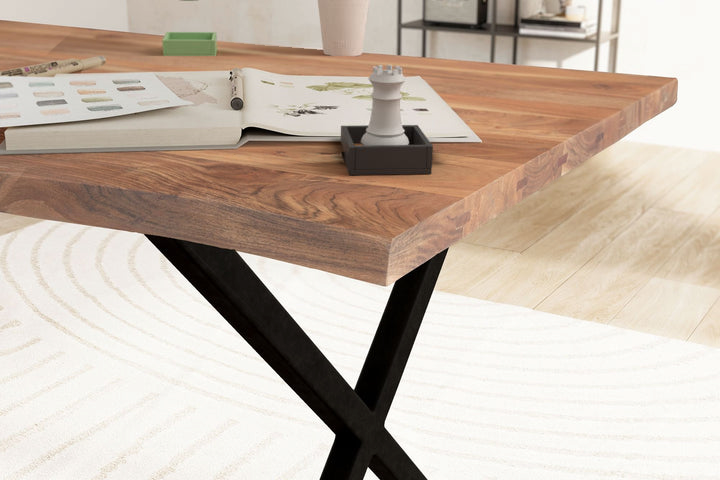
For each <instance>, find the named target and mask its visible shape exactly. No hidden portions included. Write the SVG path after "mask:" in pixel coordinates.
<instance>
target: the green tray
mask: <svg viewBox="0 0 720 480" xmlns="http://www.w3.org/2000/svg"><path fill="white" fill-rule="evenodd" d="M217 36H218V35H217V32H216V31H166V32H165V34H164V36H163V39H162V40H161V41H162V55H163V57H216V56H217V52H218V41H217V40H218V39H217Z"/></svg>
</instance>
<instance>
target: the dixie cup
mask: <svg viewBox="0 0 720 480" xmlns="http://www.w3.org/2000/svg"><path fill="white" fill-rule="evenodd" d="M317 6H318V15H319V24H320V32H321V33H320V34H321V43H322V52H323V54H324V55H327V56H331V57H358V56H361V55H362V54H363V48H364V42H365V41H364V40H365V33H366V27H367V22H368V21H367V20H368V13H369V7H370V0H317Z"/></svg>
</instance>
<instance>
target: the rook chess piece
mask: <svg viewBox="0 0 720 480" xmlns="http://www.w3.org/2000/svg"><path fill="white" fill-rule="evenodd" d="M367 80H368V81H369V82H370V84H371V85H372V93H371V94H370V98H371V99H372V102H371V104H372V105H371V107H372V108H371V112H370V120H369V124H368V125H369V126H368V127H367V129H366V133H365V134H364V135H363V137H362V139H361V143H360V144H362V146H370V145H410V142H409V140H408V138H407V136H406V135H405V134H404V131H405V130H404V129H403V127H402V125H403V124H402V115H401V99H402V98H403V95H402V94H401V87H402V86H403V84H404V83H405V82H406V80H407V78H406V77H405V75H404V74H403V67H401V66H400V65H395V66H394V69H393V64H386V69H383V65H382V64H379V65H377V64H376V65H375V66H374V65H373V66H372V73H371V74H370V75H369V77H368V78H367Z"/></svg>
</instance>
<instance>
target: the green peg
mask: <svg viewBox="0 0 720 480" xmlns="http://www.w3.org/2000/svg"><path fill="white" fill-rule="evenodd" d="M180 1H182V2H195V1H197V2H198V0H180Z"/></svg>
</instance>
